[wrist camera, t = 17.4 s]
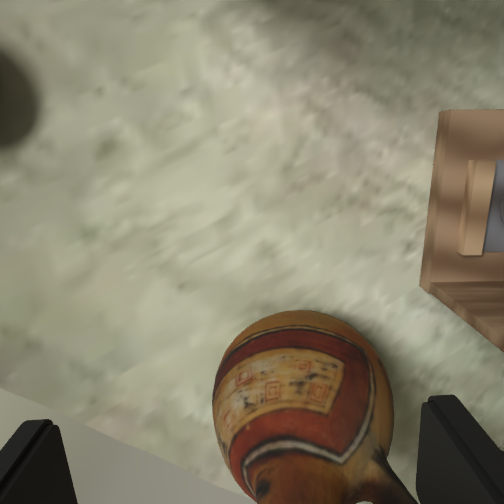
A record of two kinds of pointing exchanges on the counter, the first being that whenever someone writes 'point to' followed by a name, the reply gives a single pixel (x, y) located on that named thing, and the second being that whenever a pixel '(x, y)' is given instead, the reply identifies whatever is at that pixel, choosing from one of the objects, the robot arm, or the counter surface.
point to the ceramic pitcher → (306, 413)
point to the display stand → (468, 220)
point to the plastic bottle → (502, 207)
